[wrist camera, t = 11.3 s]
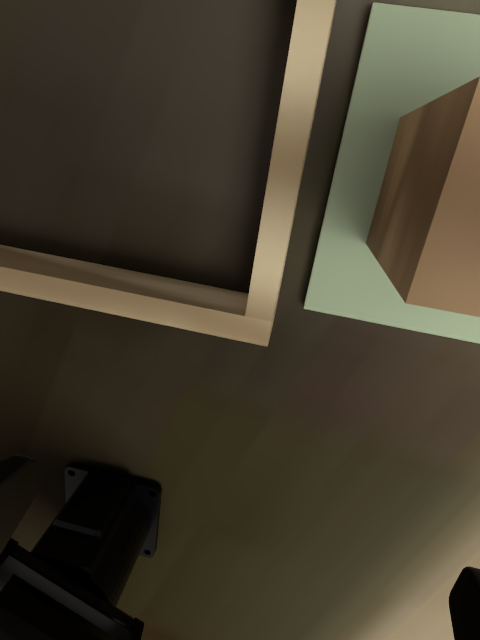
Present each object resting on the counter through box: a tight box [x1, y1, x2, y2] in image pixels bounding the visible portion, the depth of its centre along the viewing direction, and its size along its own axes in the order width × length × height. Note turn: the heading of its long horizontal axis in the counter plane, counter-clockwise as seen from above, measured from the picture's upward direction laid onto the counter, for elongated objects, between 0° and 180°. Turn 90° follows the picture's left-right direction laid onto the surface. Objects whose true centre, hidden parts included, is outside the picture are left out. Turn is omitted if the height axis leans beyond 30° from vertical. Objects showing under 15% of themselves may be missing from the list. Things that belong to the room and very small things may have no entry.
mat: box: [304, 2, 480, 344], centre depth 16 cm, size 12×9×1 cm
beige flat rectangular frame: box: [0, 0, 337, 347], centre depth 17 cm, size 14×18×3 cm
